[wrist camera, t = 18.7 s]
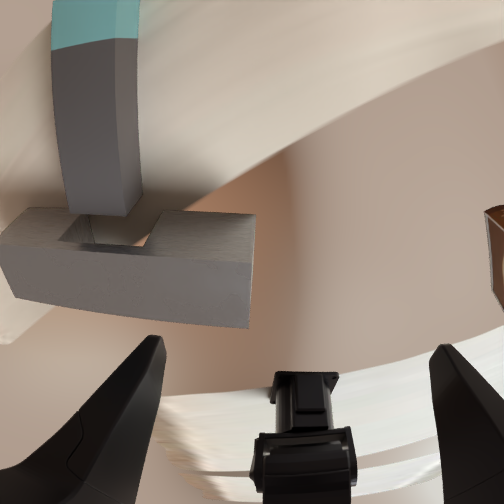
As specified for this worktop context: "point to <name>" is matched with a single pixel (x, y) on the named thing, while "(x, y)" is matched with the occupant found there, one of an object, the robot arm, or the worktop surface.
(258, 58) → the worktop surface
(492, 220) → the food container
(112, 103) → the bar
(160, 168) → the worktop surface
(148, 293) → the long gray rectangular block
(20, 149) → the worktop surface
